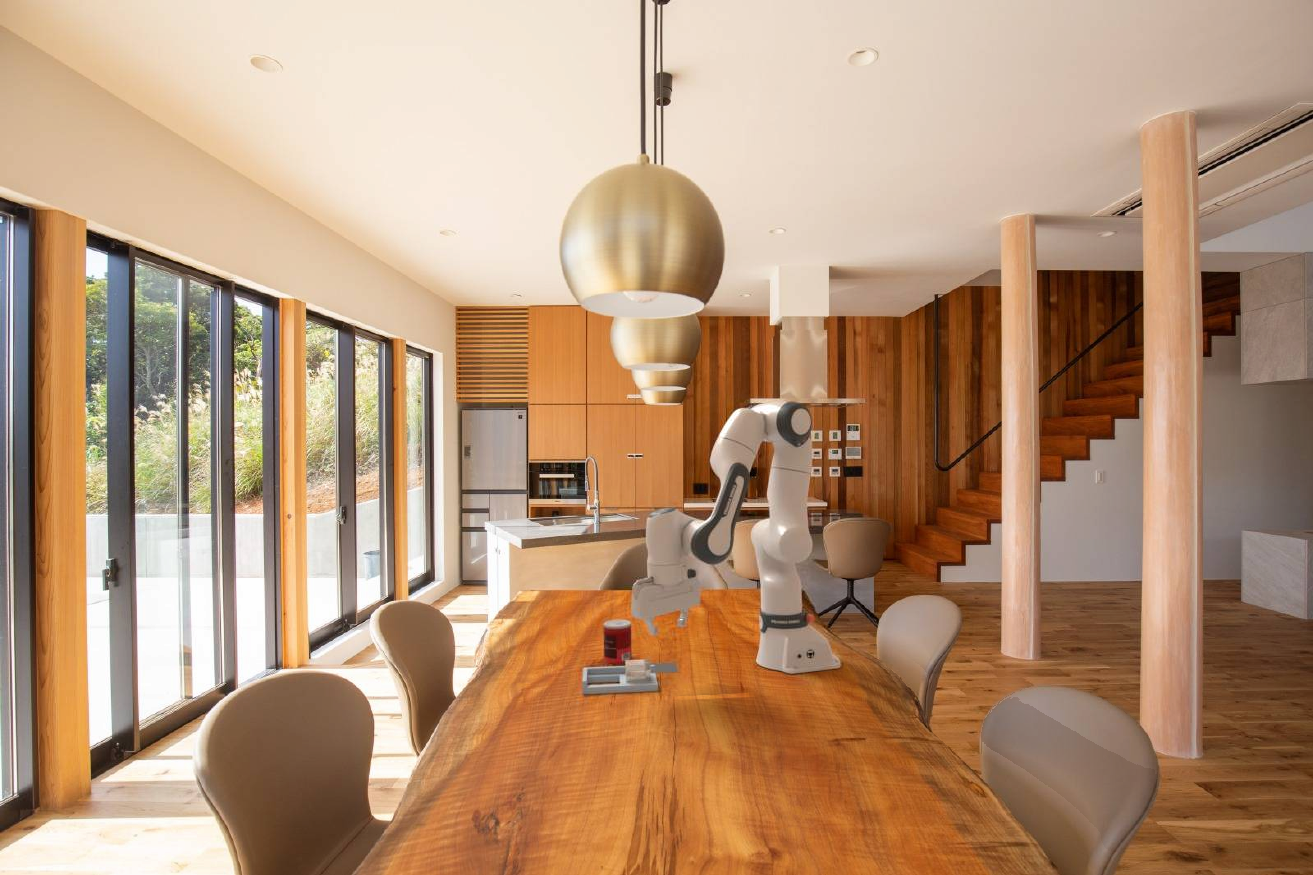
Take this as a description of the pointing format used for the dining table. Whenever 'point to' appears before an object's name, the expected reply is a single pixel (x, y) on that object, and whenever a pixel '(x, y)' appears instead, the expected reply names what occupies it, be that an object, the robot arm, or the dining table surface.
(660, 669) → the pad
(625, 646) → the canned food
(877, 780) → the dining table surface
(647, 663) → the white boxy piece
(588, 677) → the grey slotted tray
